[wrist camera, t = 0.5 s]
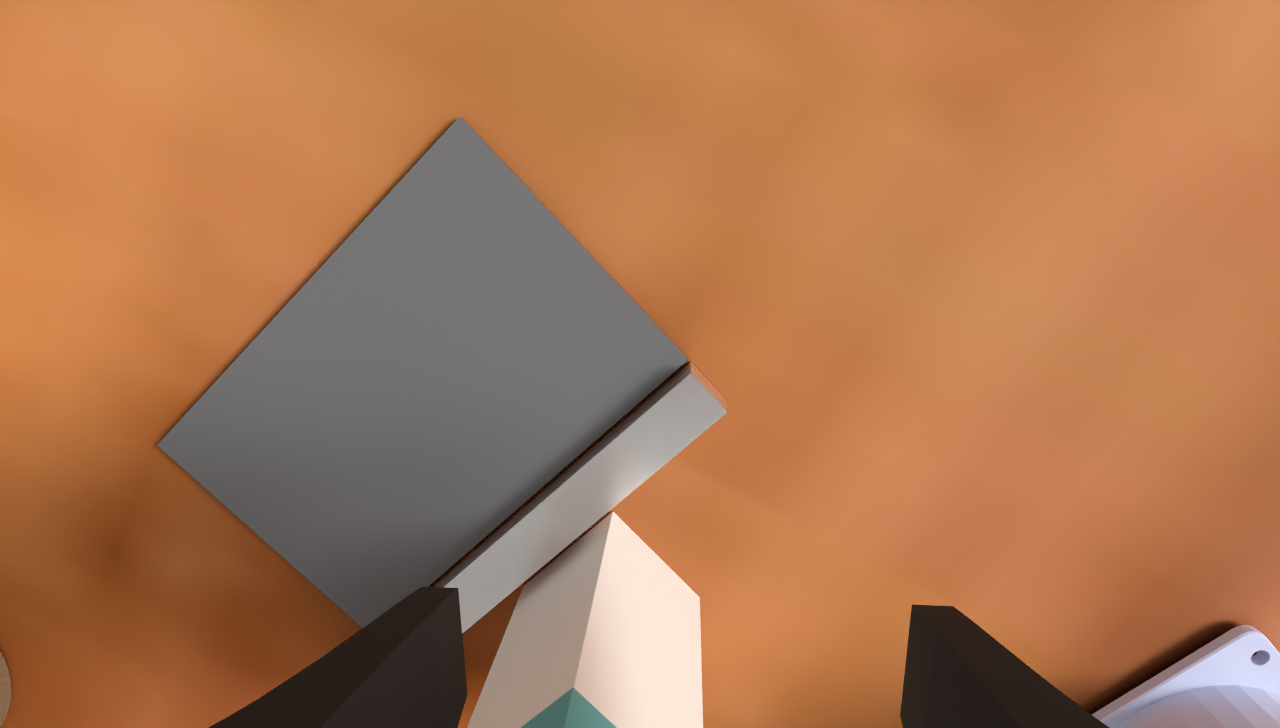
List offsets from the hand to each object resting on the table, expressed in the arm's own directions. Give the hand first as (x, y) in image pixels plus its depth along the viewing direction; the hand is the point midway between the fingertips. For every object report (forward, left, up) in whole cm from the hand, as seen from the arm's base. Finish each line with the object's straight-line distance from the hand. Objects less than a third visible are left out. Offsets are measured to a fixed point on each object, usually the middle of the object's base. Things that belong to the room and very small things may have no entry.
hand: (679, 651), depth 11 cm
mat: (+6, +6, -10) cm, 13 cm away
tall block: (-3, +6, -10) cm, 12 cm away
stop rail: (+1, +6, -10) cm, 12 cm away
